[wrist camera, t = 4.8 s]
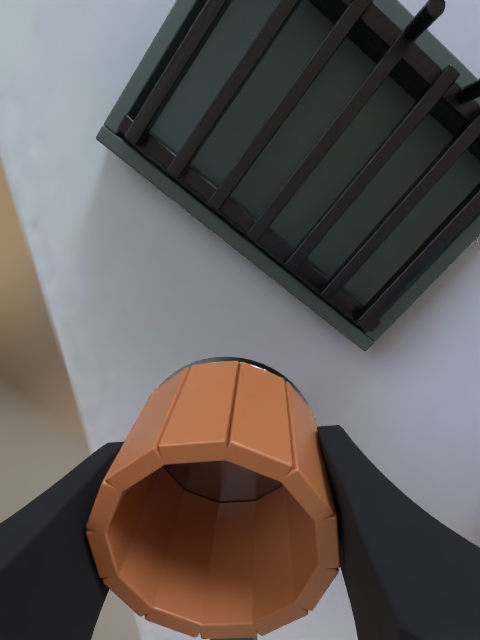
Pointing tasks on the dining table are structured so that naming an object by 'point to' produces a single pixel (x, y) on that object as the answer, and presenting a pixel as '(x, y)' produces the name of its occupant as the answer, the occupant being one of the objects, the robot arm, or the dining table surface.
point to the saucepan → (218, 505)
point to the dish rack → (313, 145)
